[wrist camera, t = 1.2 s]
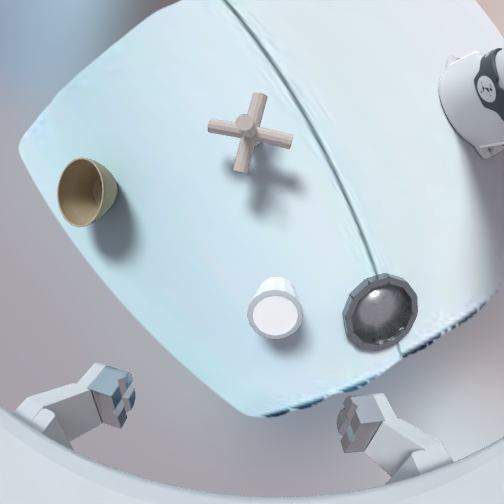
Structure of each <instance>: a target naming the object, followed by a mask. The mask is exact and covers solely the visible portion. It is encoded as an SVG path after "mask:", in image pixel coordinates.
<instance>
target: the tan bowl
mask: <svg viewBox="0 0 504 504" xmlns="http://www.w3.org/2000/svg"><path fill="white" fill-rule="evenodd" d="M117 191H118V188H117V183H116V181H115V179H114V177H113V175H112V174H111V173H110V172H109V170H107V169H106V168H105V167H104V166H103V165H101V164H100V163H98V162H96V161H94V160H91V159H88V158H77V159H75V160H73V161H71V162H70V163H69V164H68V165H67V166H66V167H65V169H64V171H63V172H62V174H61V177H60V180H59V183H58V190H57V198H58V205H59V209H60V211H61V213H62V215H63V217H64V218H65V220H66V221H67V222H68V223H70V224H71V225H73V226H76V227H84V226H87V225H89V224H91V223H93V222H95V221H96V220H98V219H99V218H101V217H102V216H103V215H104V214H105V213H106V212H107V211H108V210H109V209H110V208H111V206H112V205H113V203H114V201H115V199H116V196H117Z"/></svg>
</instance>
